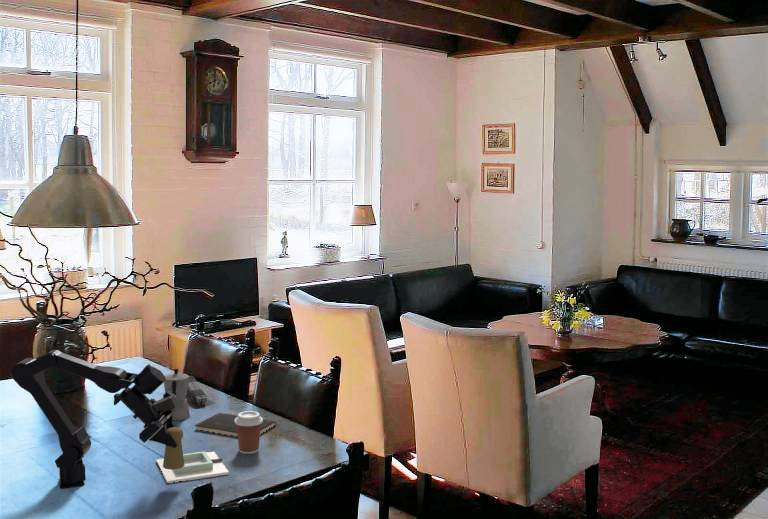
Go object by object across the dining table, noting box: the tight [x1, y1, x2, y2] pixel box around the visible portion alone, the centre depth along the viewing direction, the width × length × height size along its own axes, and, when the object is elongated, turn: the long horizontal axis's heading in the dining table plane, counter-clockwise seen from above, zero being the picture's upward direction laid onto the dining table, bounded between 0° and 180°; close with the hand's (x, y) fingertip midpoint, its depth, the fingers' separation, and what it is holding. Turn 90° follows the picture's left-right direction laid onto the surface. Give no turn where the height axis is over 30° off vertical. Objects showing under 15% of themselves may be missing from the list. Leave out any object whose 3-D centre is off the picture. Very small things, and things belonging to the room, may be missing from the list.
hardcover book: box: [194, 412, 277, 437], centre depth 283 cm, size 16×23×2 cm
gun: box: [187, 375, 208, 406], centre depth 315 cm, size 4×20×10 cm, turn 29°
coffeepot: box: [163, 368, 191, 422], centre depth 291 cm, size 15×9×18 cm, turn 9°
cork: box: [163, 426, 184, 470], centre depth 232 cm, size 6×6×11 cm
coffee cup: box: [234, 410, 263, 455], centre depth 261 cm, size 9×9×12 cm
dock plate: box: [155, 450, 230, 484], centre depth 246 cm, size 18×18×3 cm
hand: (178, 443), depth 232 cm, fingers closed on cork, 5 cm apart
